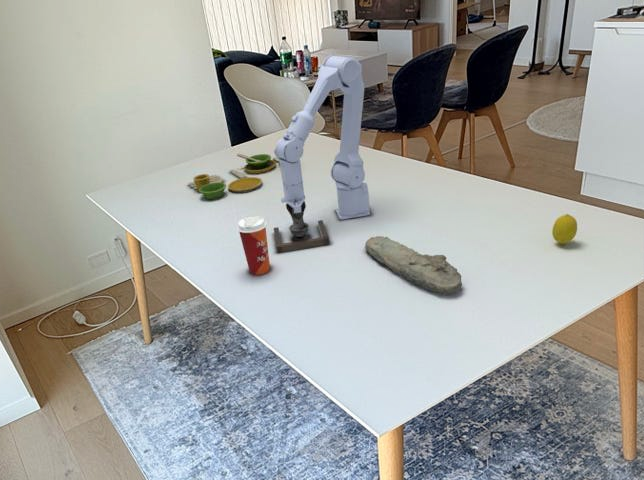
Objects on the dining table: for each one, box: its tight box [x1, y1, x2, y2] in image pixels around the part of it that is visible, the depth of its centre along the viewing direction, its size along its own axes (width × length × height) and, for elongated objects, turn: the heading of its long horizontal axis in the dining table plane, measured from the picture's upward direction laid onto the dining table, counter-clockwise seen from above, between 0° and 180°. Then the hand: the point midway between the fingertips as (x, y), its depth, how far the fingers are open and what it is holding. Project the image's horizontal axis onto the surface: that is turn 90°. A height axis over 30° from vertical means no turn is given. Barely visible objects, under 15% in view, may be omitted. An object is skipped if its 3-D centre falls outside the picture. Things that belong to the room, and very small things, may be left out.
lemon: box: [551, 213, 578, 246], centre depth 141 cm, size 6×6×8 cm
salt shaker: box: [288, 199, 310, 242], centre depth 164 cm, size 6×6×12 cm
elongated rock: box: [364, 235, 463, 295], centre depth 142 cm, size 35×5×10 cm
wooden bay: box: [273, 219, 330, 254], centre depth 166 cm, size 15×14×2 cm
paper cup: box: [236, 216, 271, 276], centre depth 150 cm, size 8×8×14 cm
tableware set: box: [188, 152, 280, 200], centre depth 214 cm, size 41×28×6 cm
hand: (298, 226), depth 169 cm, fingers closed
